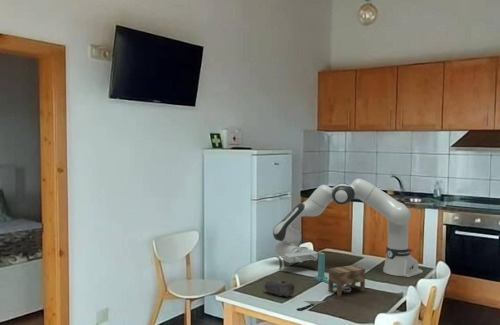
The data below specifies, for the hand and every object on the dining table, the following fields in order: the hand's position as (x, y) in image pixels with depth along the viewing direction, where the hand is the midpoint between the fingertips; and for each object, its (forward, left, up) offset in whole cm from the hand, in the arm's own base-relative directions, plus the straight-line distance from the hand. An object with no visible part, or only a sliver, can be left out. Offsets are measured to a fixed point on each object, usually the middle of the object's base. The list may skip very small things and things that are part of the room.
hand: (309, 259), depth 251 cm
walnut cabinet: (0, +31, -8) cm, 32 cm away
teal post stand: (0, +17, -8) cm, 19 cm away
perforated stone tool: (+33, +21, -8) cm, 40 cm away
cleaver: (+23, +35, -8) cm, 43 cm away
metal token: (0, +31, -8) cm, 32 cm away
